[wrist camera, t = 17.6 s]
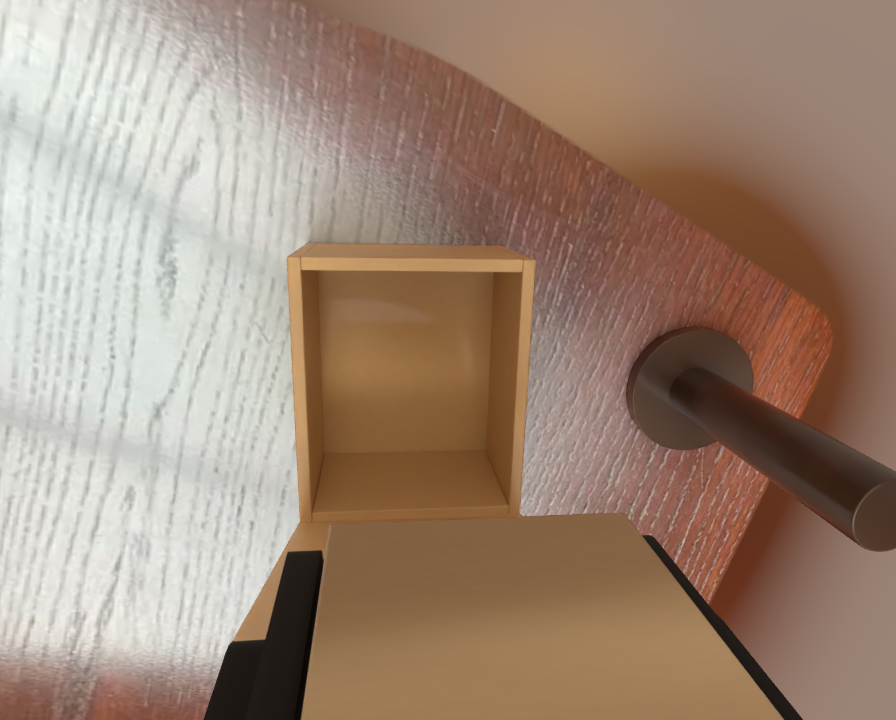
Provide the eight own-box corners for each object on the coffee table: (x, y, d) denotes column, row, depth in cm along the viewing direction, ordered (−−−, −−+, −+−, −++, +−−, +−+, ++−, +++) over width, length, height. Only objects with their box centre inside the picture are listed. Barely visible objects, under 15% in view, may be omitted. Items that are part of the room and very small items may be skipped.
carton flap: (223, 654, 15) (223, 837, 15) (639, 629, 16) (642, 797, 16) (299, 522, 29) (299, 616, 29) (521, 513, 30) (522, 604, 30)
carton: (306, 242, 33) (286, 256, 26) (503, 245, 34) (536, 259, 27) (315, 458, 37) (299, 524, 29) (493, 453, 38) (519, 515, 31)
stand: (664, 306, 36) (870, 388, 21) (767, 354, 38) (1026, 462, 23) (604, 419, 38) (755, 570, 23) (705, 460, 40) (908, 627, 24)
